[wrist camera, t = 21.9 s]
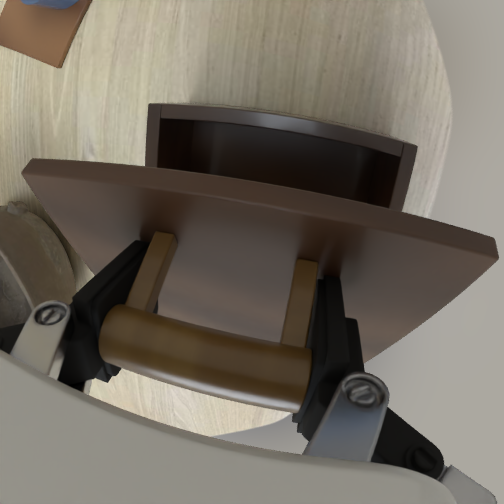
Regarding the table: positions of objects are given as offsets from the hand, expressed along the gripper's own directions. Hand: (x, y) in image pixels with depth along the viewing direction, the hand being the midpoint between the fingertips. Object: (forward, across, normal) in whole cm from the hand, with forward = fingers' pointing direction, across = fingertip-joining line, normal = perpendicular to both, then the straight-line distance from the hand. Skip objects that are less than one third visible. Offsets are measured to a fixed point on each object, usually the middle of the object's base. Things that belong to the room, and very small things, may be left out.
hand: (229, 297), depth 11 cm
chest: (+16, 0, +2) cm, 16 cm away
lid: (+4, 0, +3) cm, 5 cm away
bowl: (+16, +27, +12) cm, 34 cm away
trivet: (+16, +26, -20) cm, 37 cm away
